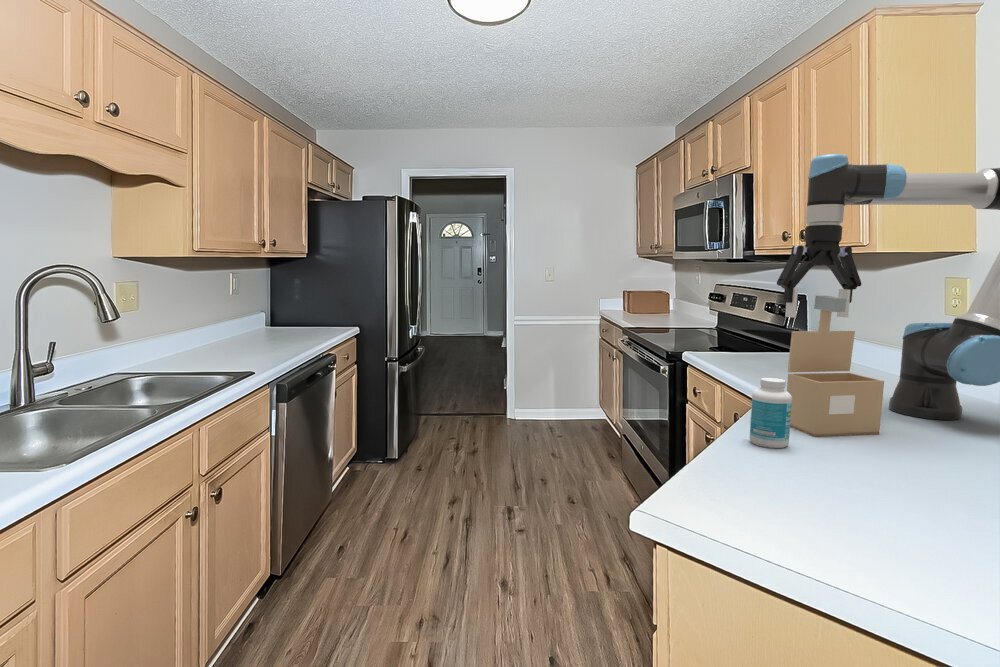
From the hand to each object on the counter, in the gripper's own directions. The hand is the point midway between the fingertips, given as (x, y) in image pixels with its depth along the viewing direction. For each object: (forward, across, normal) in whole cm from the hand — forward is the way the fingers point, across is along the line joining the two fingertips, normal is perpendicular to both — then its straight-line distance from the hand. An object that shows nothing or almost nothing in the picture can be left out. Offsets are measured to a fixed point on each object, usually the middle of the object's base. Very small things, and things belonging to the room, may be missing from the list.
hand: (816, 317), depth 135 cm
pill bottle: (+25, +21, +15) cm, 36 cm away
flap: (+4, 0, +6) cm, 8 cm away
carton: (+25, 0, +7) cm, 26 cm away
